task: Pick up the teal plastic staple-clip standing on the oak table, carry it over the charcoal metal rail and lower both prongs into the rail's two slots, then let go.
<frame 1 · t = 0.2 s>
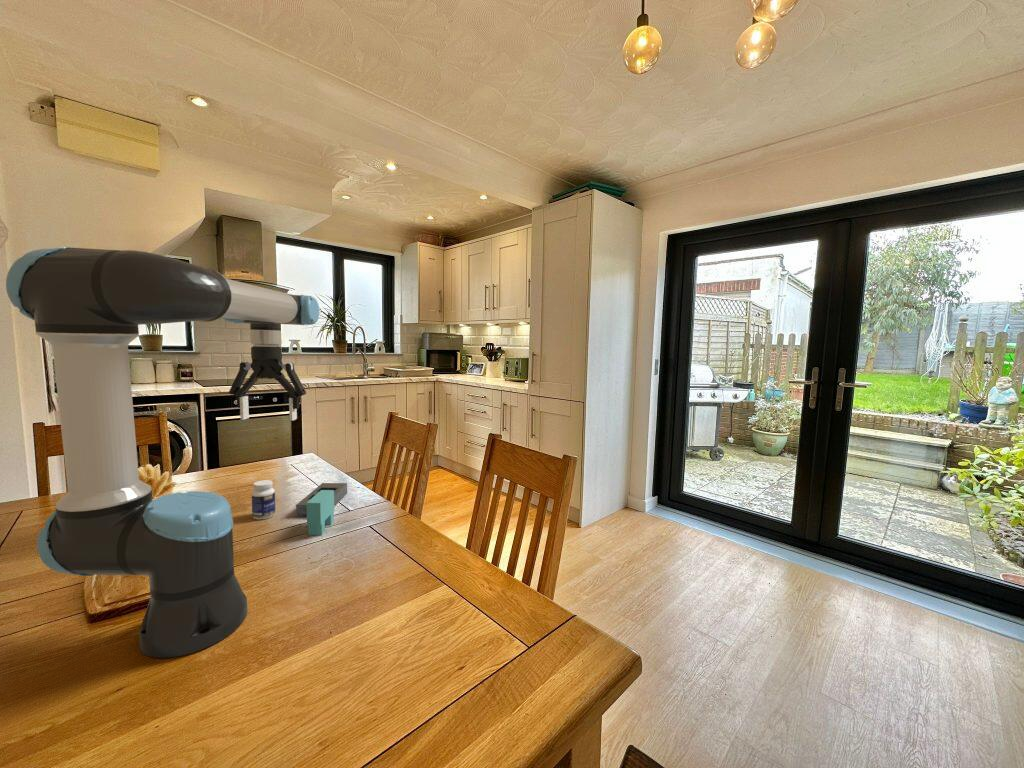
hand: (269, 419, 117), 27 cm above the table, fingers open, 13 cm apart
rail: (323, 504, 126), on the table
pill bottle: (264, 516, 117), on the table
clip: (321, 528, 110), on the table
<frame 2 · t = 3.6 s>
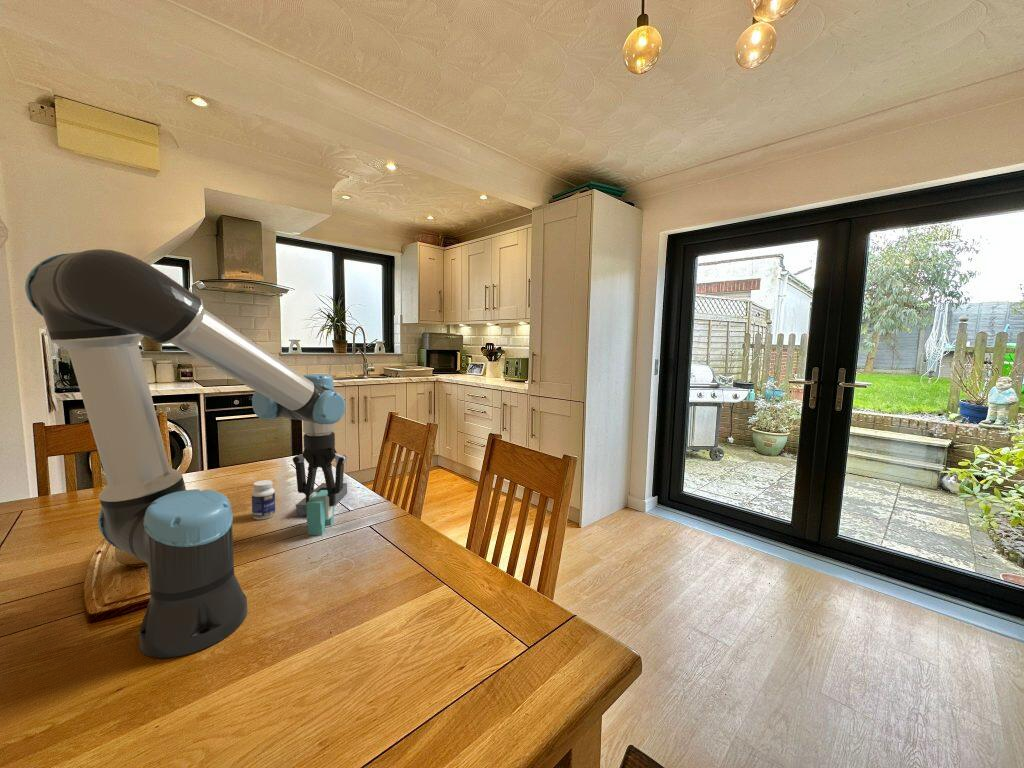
hand: (321, 517, 110), 3 cm above the table, fingers closed on clip, 3 cm apart
clip: (321, 528, 110), on the table, touching gripper
everything else where it was.
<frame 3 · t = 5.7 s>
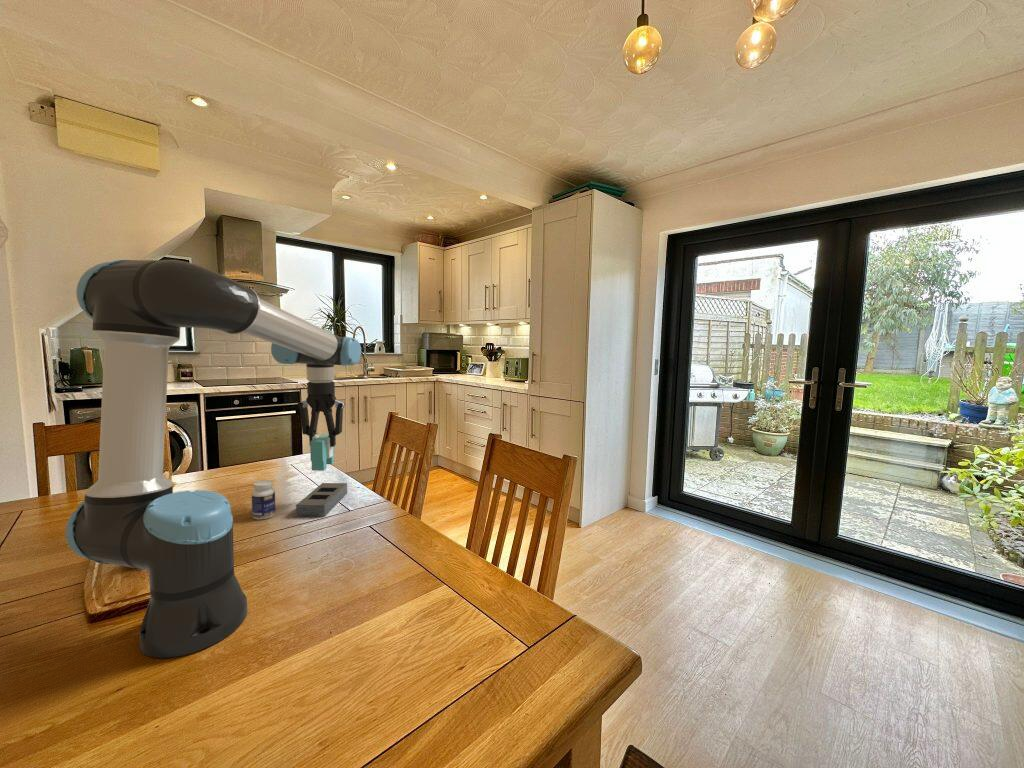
hand: (323, 456, 125), 15 cm above the table, fingers closed on clip, 3 cm apart
clip: (323, 466, 125), point 12 cm above the table, touching gripper
everything else where it was.
when the fingers open (5 cm above the table, at t = 8.0 s): clip drops 1 cm, resting on rail.
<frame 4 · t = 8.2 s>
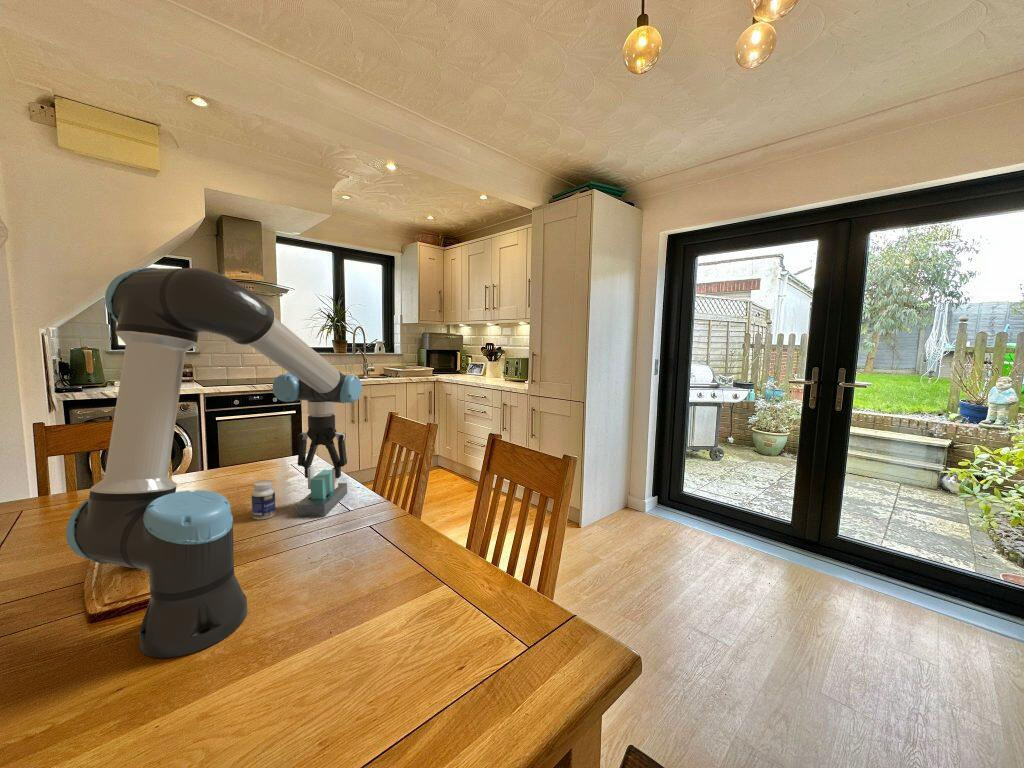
hand: (323, 487, 126), 5 cm above the table, fingers open, 7 cm apart
clip: (323, 502, 126), resting on rail
everything else where it was.
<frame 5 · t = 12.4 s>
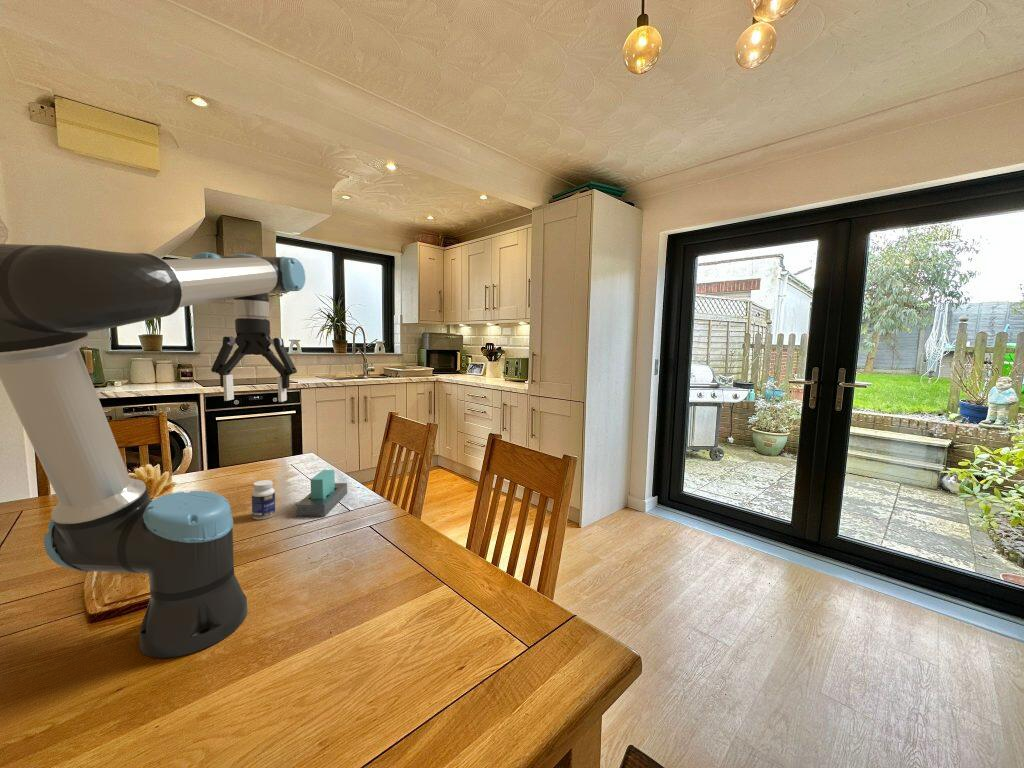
hand: (255, 400, 106), 35 cm above the table, fingers open, 13 cm apart
nothing on the table moved.
at the end: clip 0.0 cm off-centre on the rail, point 0.5 cm above the rail's base; clip tilted 0°; the gripper is holding nothing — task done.
